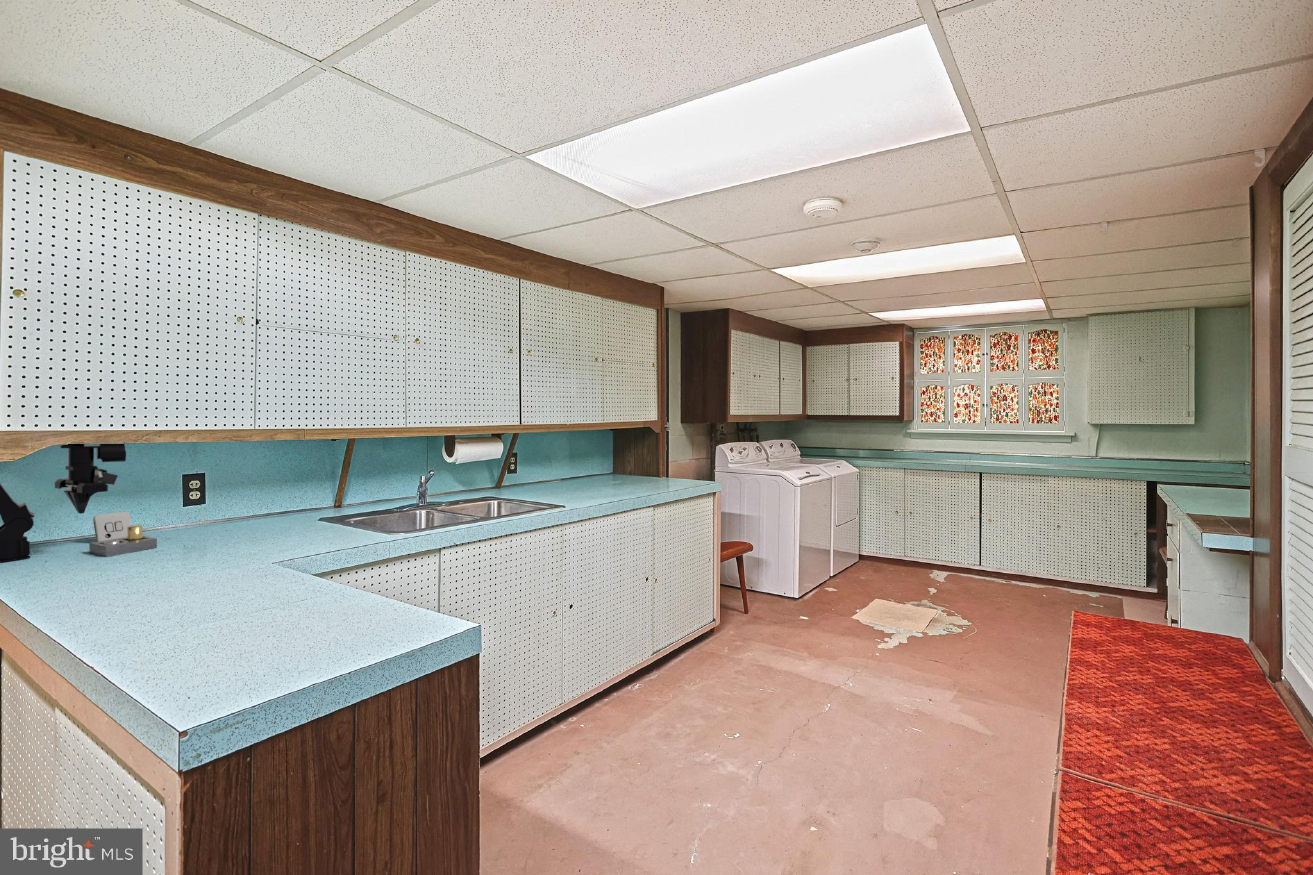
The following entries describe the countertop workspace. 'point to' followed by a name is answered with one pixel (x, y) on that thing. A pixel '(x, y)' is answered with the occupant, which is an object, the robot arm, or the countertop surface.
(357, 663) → the countertop surface
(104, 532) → the electrical switch
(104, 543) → the silver round knob
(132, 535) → the gold domed cylinder
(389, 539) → the countertop surface
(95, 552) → the jig
